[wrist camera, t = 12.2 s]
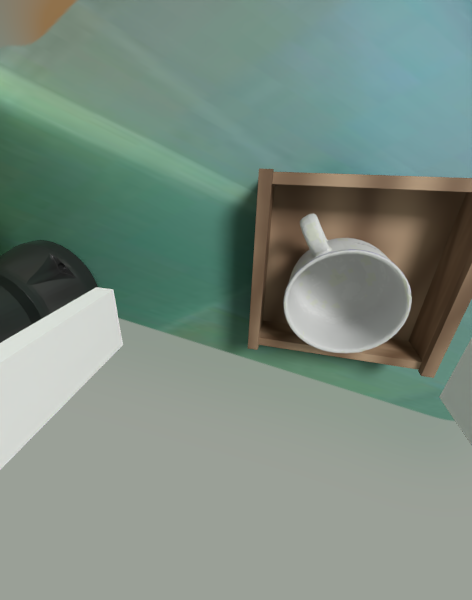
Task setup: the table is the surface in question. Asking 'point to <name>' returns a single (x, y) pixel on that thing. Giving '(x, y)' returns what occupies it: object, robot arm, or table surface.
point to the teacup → (344, 293)
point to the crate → (380, 233)
